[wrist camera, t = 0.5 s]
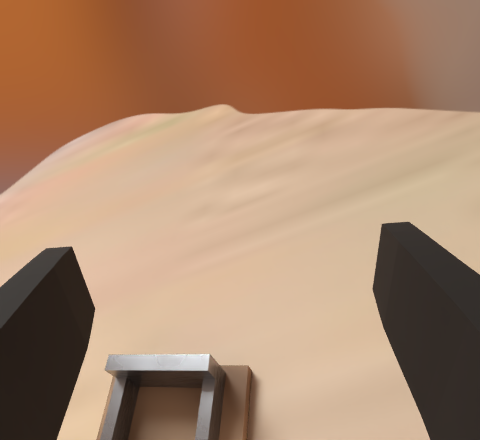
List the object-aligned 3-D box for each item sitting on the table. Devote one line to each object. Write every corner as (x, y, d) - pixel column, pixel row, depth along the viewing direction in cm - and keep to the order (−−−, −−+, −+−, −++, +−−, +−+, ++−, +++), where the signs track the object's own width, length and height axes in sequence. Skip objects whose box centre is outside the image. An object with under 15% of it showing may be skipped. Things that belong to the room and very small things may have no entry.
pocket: (213, 491, 25) (192, 483, 22) (106, 482, 27) (76, 474, 24) (226, 372, 29) (209, 354, 26) (132, 372, 31) (108, 354, 28)
